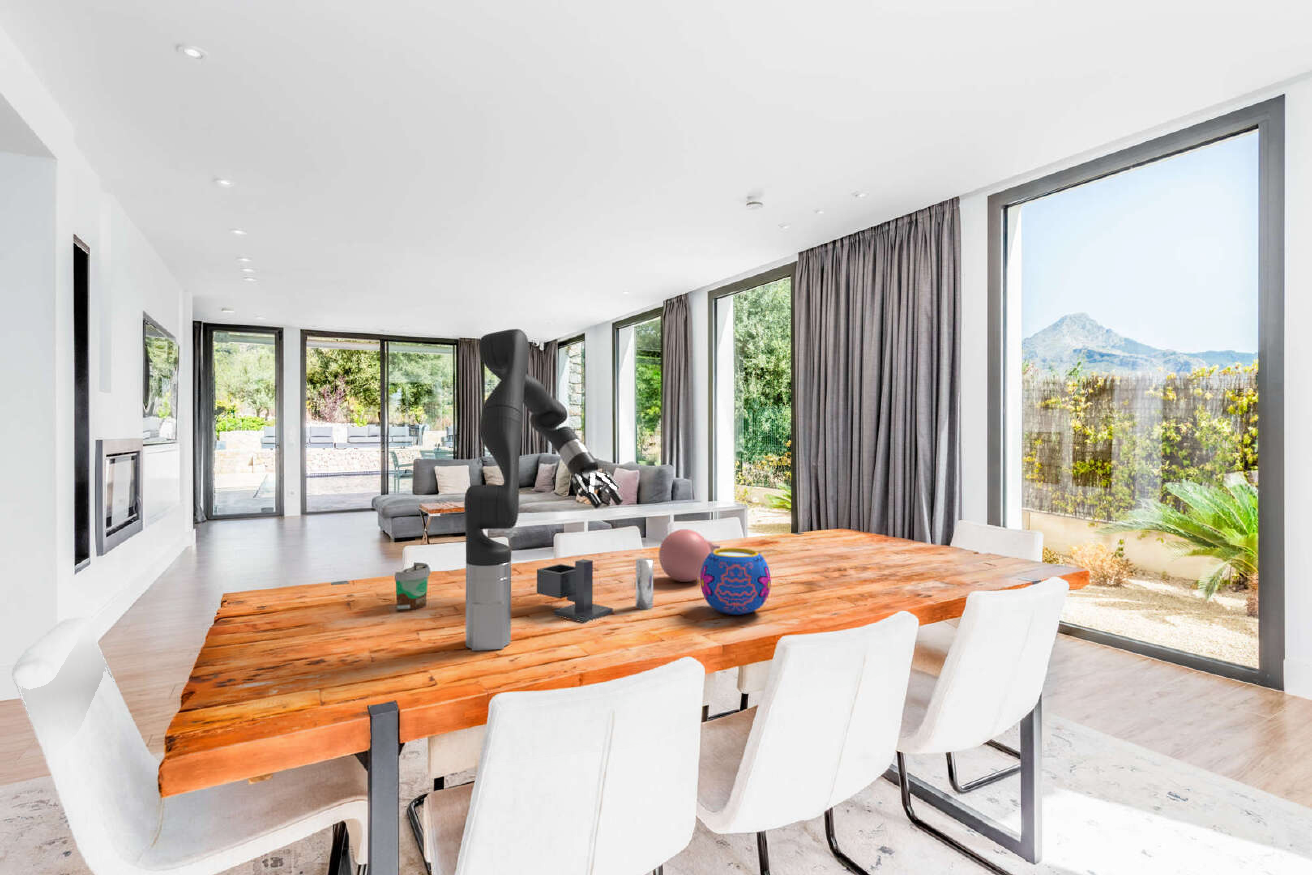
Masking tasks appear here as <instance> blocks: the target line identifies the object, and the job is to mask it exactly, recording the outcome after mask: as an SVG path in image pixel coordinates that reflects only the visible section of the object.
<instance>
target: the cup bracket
mask: <svg viewBox="0 0 1312 875" xmlns="http://www.w3.org/2000/svg"><path fill="white" fill-rule="evenodd" d="M574 563H575V565H574V566H573V565H568V564H563V563H559V564H555V565H550V566H546V567H541V568H538V569H536V594H538V595H542V596H547V597H552V598H555V599H559V600H560V599H564V598H566V601H568V602H571V603H572V602H573V603H574V604H570V605H566V606H563V607H560V608H557V609H554V612H553V614H554V616H555V615H556V617H559V616H563V617H566V618H565V619H567V618H570V619H569V620H571V619H573V620H572V621H575V620H579V621H582V622H581V623H583V622H586V623H588V622H587V621H589V620H592V621H594V620H593V619H595V620H597V619H600V618H602V617H601V616H603V617H606V616H608V615H611V614H613V613H614V610H613V609H614V608H613V607H609V606H604V605H599V604H596V603H593V601H594V600H593V586H594V584H593V581H594V580H593V574H594V573H593V572H594V570H593V569H594V561H593V560H590V559H584V558H583V559H579V560H576V561H574ZM563 617H562V618H563ZM599 617H600V618H599ZM596 618H597V619H596ZM579 621H578V622H579ZM589 622H590V621H589Z"/></svg>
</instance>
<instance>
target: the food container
mask: <svg viewBox="0 0 1312 875" xmlns="http://www.w3.org/2000/svg"><path fill="white" fill-rule="evenodd" d="M430 568H431V567H430V566H429V564H427V563H423V562H413V565H412V567H410V568H406V569H404V570H403V571H395V575H394V581H395V592H396V612H397V613H403V612H404V613H406V612H412V611H413V610H414V611H417V609H418V610H421V609H424V608H425V607H426V606H427V594H428V581H429V580H428V579H429V577H430V576H431V574H432V573H431V569H430ZM423 607H424V608H423ZM420 608H421V609H420Z"/></svg>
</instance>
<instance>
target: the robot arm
mask: <svg viewBox="0 0 1312 875" xmlns="http://www.w3.org/2000/svg"><path fill="white" fill-rule="evenodd" d="M478 351H479V355H480V359H481V360H482V363H483V364H484V365H485V367H486V368H487V369H488V370H489V371H490V372H491V373H492V374H493V375H494V376H496V378H497V379H499V382H498V383H497V385H496V386H495V387H494V389H493V390H492V391H491V393H490V394H489V396H487V398H486V400H485V402H484V403H483V406H482V409H481V413H480V414H481V416H480V424H479V435H480V438H481V440H482V443H483V444H484V446H485V447H486V449H487V451H488V452H489V453H490V455H491V457H492V458H493V460H494V461H495V462H496V464H497V466H498V468H499V471H500V473H501V475H502V478H503V483H502V484H473V485H470V486H468V488H467V489H466V492H465V495H464V502H463V503H464V504H463V506H464V510H463V511H464V523H465V526H464V527H465V646H466V647H467V648H469V649H471V651H473V652H474V651H477V652H478V651H489V650H490V651H491V650H503V649H504V647H506V646H508V645H509V644H511V642H512V549H511V547H510V546H508V545H506V544H505V543H501V542H498V541H496V540H493V539H491V538H490V537H488V536H487V535H486V534H485V533H484V531H483V530H507V529H509V530H510V529H512V528H515V526H516V524H517V521H518V519H519V518H518V517H519V509H520V507H519V506H520V504H519V503H520V456H521V455H520V454H521V443H522V434H523V421H524V406H525V408H526V409H527V410H528V412H530V414H531V415H530V417H529V422H530V426H531V427H532V428H533V429H534V431H536V433H538V434H540V435H542V436H543V437H544V438H545V439H547V441H548V442H549V443H551V445H552V447H554V449H555V451H556V452H557V454H558V455H559V457H560V458H561V460H562V462H563V464H564V465H565V467H566V468H567V470H568V471H569V472H570V474H571V475H572V478H571V479H570V480H569V481H570V483H571V485H572V486H573V488H574V490H575V491H576V493H577V494H578V496H579V497H580V498H584V497H585V499H588V500H589V502H590V503H591V505H592V506H593V507H594V509H599V508H600V507H601V506H602V503H603V502H602V501H601V500H600V498H599V497H598V495H597V494H596V492H594V491H595V490H599V491H600V492H603V493H604V492H605V493H607V494H608V495H609V496H610V498H611V499H612V501H613V502H614V504H615V505H616V506H620V505H621V503H623V498H622V497H621V495H620V493H619V492H618V489H620V487H621V486H620V484H619V483H618V482H617V481H616V479H615V478H614V476H612V474H611V473H610V471H606V472H604V473H602V472H600V471H599V463H598V462H597V459H596V458H595V457H594V456H593V455H592V453H591V452H590V451H589V449H588V447H587V446H586V445H585V444H584V443H583V442H582V441H581V439H580V438H579V436H578V435H577V434H576V432H575V431H574V430H573V428H572V427H570V426H568V425H567V426H566V425H565V426H562V427H559V426H560V425H562V424H564V423H565V421H567V418H568V410H567V409H566V407H565V406H564V405H563V404H562V403H561V402H560V401H559V400H557V399H555V398H553V397H552V396H551V395H550V394H549V392H548V391H547V389H546V388H545V387H544V385H543V383H542V382H541V381H540V380H539V379H537V378H536V377H534V376H533V375H531V374H528V368H529V362H530V343H529V340H528V337H527V335H526V333H525V332H524V331H523V330H521V329H519V328H511V329H505V330H501V331H496V332H490V333H487V334H485V335H482V337H481V338H480V340H479V342H478ZM557 427H559V428H557Z"/></svg>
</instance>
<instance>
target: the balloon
mask: <svg viewBox="0 0 1312 875" xmlns="http://www.w3.org/2000/svg"><path fill="white" fill-rule="evenodd" d="M659 547H660V548H659V551H658V560H659V563H660V566H661V569H662V571H663V572H664V574H666V575H667V576H668V577H669V578H671V579H672V580H674V581H677V582H680V583H681V582H683V583H689V582H693V581H696V580H698V579H700V574H701V569H702V566H703V563H704V561H705V559H706V558H707V556H708V555H709V554H710V553H711V552H713V551H714V550H717V549H721V545H720V544H718V543H717V544H716V543H713V541H711V540H707V539H705V537H703V536H702V535H701V534H700V533H699V532H697V531H694V530H692V529H677V530H675V531H673V532H671V533H669V534H668V535H667V536H666V537H665V538H664V540H663V541H662V543H661V545H660V546H659Z"/></svg>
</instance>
